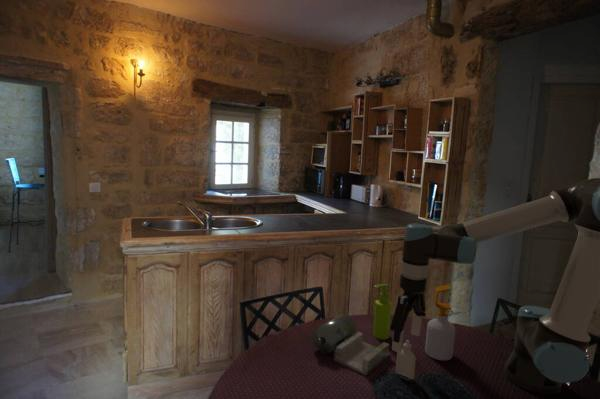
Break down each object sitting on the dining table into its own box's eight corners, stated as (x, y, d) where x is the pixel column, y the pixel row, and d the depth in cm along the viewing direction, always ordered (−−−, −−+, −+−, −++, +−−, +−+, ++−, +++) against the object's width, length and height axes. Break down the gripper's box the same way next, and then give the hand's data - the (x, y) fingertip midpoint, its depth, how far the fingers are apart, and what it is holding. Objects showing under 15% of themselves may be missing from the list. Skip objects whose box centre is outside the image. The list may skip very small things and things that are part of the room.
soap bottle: (455, 363, 123) (462, 292, 120) (426, 358, 125) (433, 289, 122) (449, 349, 132) (456, 283, 129) (423, 345, 134) (429, 280, 130)
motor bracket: (389, 355, 126) (391, 330, 125) (362, 378, 112) (364, 351, 111) (336, 332, 140) (337, 310, 139) (306, 351, 126) (307, 326, 125)
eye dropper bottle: (407, 371, 117) (410, 335, 116) (415, 382, 112) (418, 345, 110) (394, 372, 117) (397, 336, 115) (401, 383, 111) (405, 345, 110)
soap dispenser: (367, 332, 141) (371, 282, 138) (383, 330, 143) (387, 281, 140) (375, 340, 136) (379, 288, 133) (391, 338, 138) (396, 286, 135)
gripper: (418, 264, 122) (411, 324, 125) (382, 282, 103) (375, 353, 106) (441, 270, 117) (433, 333, 120) (408, 290, 98) (400, 364, 101)
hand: (406, 342), depth 113 cm, fingers open, 13 cm apart
